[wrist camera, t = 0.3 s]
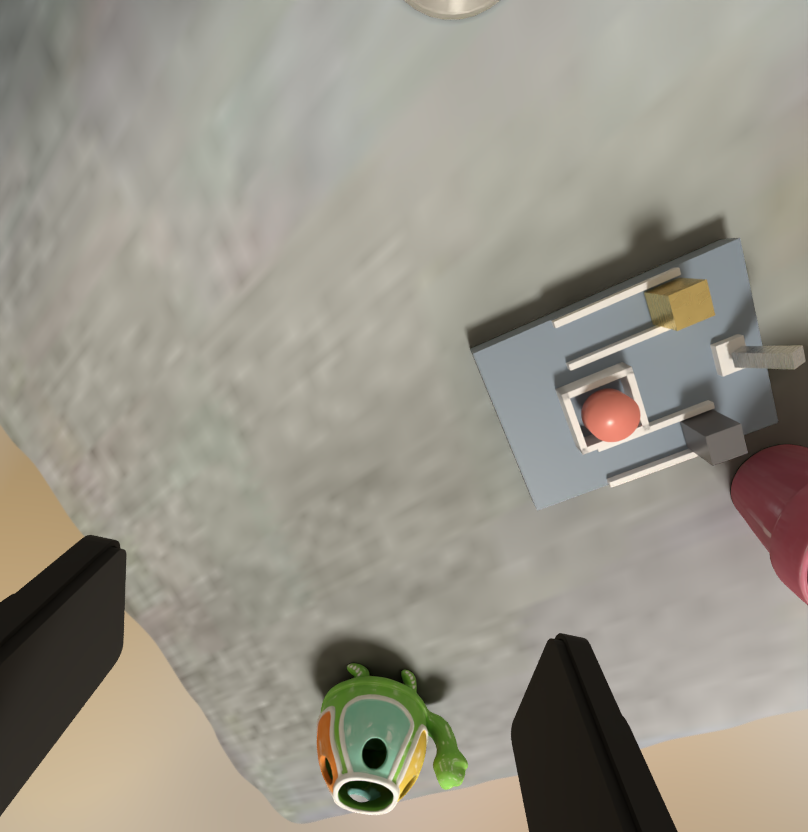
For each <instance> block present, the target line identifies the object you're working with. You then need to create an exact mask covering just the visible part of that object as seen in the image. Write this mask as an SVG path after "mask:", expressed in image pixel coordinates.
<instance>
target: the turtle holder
mask: <svg viewBox="0 0 808 832" xmlns="http://www.w3.org/2000/svg"><path fill="white" fill-rule="evenodd" d="M347 670H348V672H349V673H350V674H352V675H353V676H354V678H352V679H349V680H346V681H344V682H341V683H339V684H337V685H335V686H334V687H333V688H331V689H330V690H329V692H328V693H327V694H326V696H325V698H324V700H323V703H322V707H321V714H320V716H319V718H318V721H317V753H318V760H319V765H320V769H321V772H322V775H323V778H324V780H325V782H326V785H327V787H328V790H329V792H330V794H331V795H332V796H333V799H334V801H335V803H336V804H337V805H339V806H340V807H342V808H344V809H346V810H349V811H352V812H356V813H361V814H369V815H381V814H385V813H388V812H389V811H391V810H392V809H393V808H394V807H395V806H396V804H397V802H398V801H399V800H400V799H402V798H403V797H404V796H405V795H406V793H407V792H408V791H409V790H410V789H411V787H412V786H413V785H414V783H415V781H416V780H417V778H418V776H419V773H420V771H421V768H422V765H423V762H424V758H425V753H426V746H427V743H428V735H429V736H430V737H432V739H433V740H434V742H435V744H436V748H437V754H436V757H435V759H434V762H433V768H434V771H435V774H436V777H437V780H438V782H439V784H440V786H441V787H442V788H443V789H445V790H447V789H450V788H452V787H453V786H460V785H461V783H462V782H463V780H464V776H465V770H466V769H467V767H468V763H467V760H466V759H465V757H464V756H463V755H462V753H461V752H460V751H459V750H458V747H457V742H456V739H455V736H454V733H453V732H452V729H451V727H450V726H449V724H448V722H447V721H445V720H444V719H443V718H442V717H441V716H439V715H437V714H434V713H432V712H430V711H429V710H428V709H427V707H426V705H425V703H424V702H423V700H422V699H421V698H420V696H419V695H418V694H417V693H416V692H417V684H416V678H415V676H414V674H413V673H412V672H411V671H409V670H402V672H401V677H402V679H403V682H404V684H402V683H399V682H397V681H394V680H392V679H388V678H384V677H377V676H370V674H369V671H368V670H367V669H366V668H365V667H364V666H362V665H360V664H356V663H351V664H349V665H348V666H347ZM351 794H357V795H361V796H363V797H365V798H366V799H368V800H369V801H367V802H357V801H355V800H353V799H352V798H351V797H350V796H349V795H351Z"/></svg>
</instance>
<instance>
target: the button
mask: <svg viewBox="0 0 808 832" xmlns="http://www.w3.org/2000/svg"><path fill="white" fill-rule="evenodd" d="M640 416H641V414H640V409H639V406H638V404H637V403H636V402H635V401H634V400H633V399H632V398H630V397H629V396H627V395H625V394H624V393H622V392H621V391H619V390H616V389H611V388H607V389H601V390H598V391H596V392H595V393H593V394H592V395H590V396H589V397H588V398H587V400H586V401H585V403H584V404H583V407H582V411H581V418H582V421H583V424H584V425H585V427H586V428H587V429H588V430H589V431H590V432H591V433H592V434H593V435H594V436H595V437H597V438H598V439H600V440H602V441H605V442H617V441H621V440H623V439H625V438H627V437H629V436H630V435H631V434H632V433H633V432H634V431H635V430H636V428H637V427H638V425H639V422H640Z"/></svg>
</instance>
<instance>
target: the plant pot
mask: <svg viewBox="0 0 808 832" xmlns="http://www.w3.org/2000/svg"><path fill="white" fill-rule="evenodd" d="M731 497H732V501H733V504H734V506H735V507H736V509H737V510H738V511H739V513H740V514H741V515H742V517H743V518H744V519H745V521H746V522H747V523H748V525H749V526H750V528H751V529H752V530H753V532H754V533H755V534H756V536H757V537H758V538H759V540H760V541H761V542H762V544H763V545H764V546H765V548H766V549H767V550H768V552H769V553H770V559H771V563H772V566H773V568H774V570H775V572H776V574H777V576H778V577H779V578H780V580H781V581H782V582H783V583H784V584H785V585H786V586H787V587H788V588H789V589H790V590H792V591H793V592H794V593H795V594H796V595H797V596H798V597H799V598H800V599H801V600H803V601H804V602H805V603H806V604H807V605H808V448H807V447H803V446H799V445H791V444H783V445H776V446H772V447H769V448H766V449H763V450H761V451H759V452H758V453H756V454H754V455H753V456H751V457H750V458H749V459H748V460H747V461H745V462H744V463H743V464H742V466H741V467H740V468H739V470H738V471H737V473H736V475H735V477H734V479H733V481H732V485H731Z"/></svg>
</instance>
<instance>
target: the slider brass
mask: <svg viewBox="0 0 808 832" xmlns="http://www.w3.org/2000/svg"><path fill="white" fill-rule="evenodd" d="M644 294H645V298H646V301H647V305H648V308H649V312H650V316H651V319H652V323H653V325H657V326H661V327H664V328H668V329H672V330H676V331H679V330H681V329H683V328H686V327H688V326H691V325H693V324H696V323H698V322H700V321H703V320H705V319H708V318H710V317H713V316H715V312H714V307H713V303H712V299H711V295H710V290H709V286H708V282H707V279H692V278H677V279H675V280H672V281H670V282H668V283H665V284H663V285H661V286H658V287H656V288H654V289H651V290H649V291H647V292H644Z"/></svg>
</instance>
